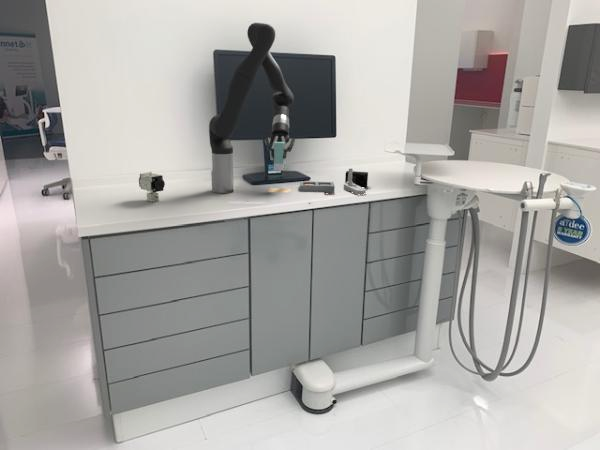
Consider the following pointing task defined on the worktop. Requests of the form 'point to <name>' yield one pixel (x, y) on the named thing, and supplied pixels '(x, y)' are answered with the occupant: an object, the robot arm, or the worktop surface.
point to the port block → (317, 186)
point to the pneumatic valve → (151, 185)
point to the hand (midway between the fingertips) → (278, 157)
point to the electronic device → (353, 185)
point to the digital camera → (358, 178)
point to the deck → (279, 190)
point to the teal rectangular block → (278, 156)
